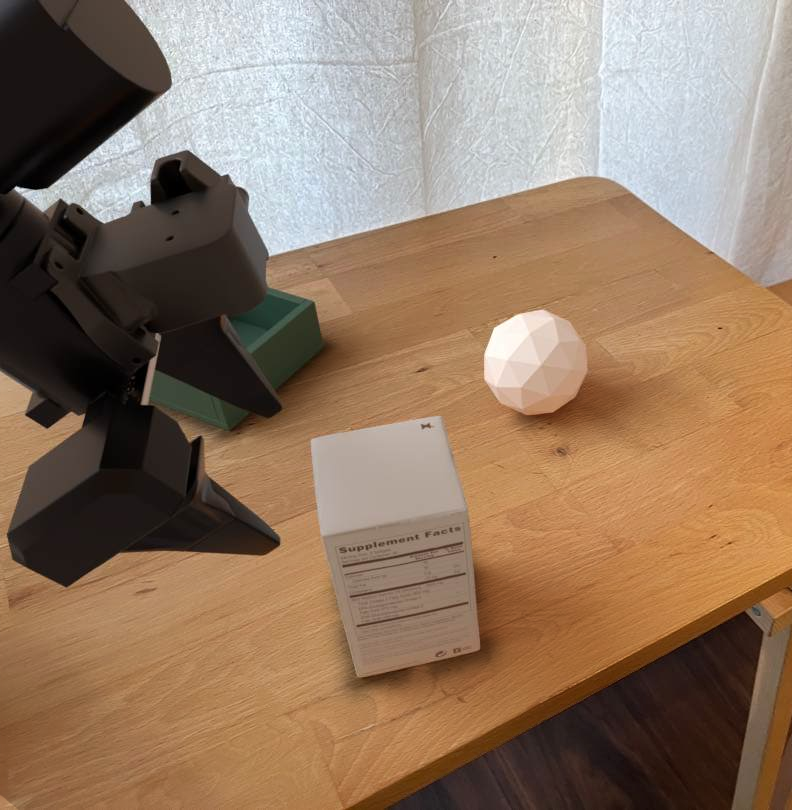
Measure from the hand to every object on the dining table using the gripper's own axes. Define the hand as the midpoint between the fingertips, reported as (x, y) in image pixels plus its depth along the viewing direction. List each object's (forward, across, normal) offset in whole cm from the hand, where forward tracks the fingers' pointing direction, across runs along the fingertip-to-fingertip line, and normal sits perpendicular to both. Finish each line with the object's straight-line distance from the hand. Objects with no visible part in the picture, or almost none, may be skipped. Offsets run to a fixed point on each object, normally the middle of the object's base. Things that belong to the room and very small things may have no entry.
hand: (275, 474), depth 42 cm
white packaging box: (+15, +1, +4) cm, 16 cm away
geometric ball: (+21, +19, -6) cm, 29 cm away
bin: (+8, +29, +14) cm, 33 cm away
